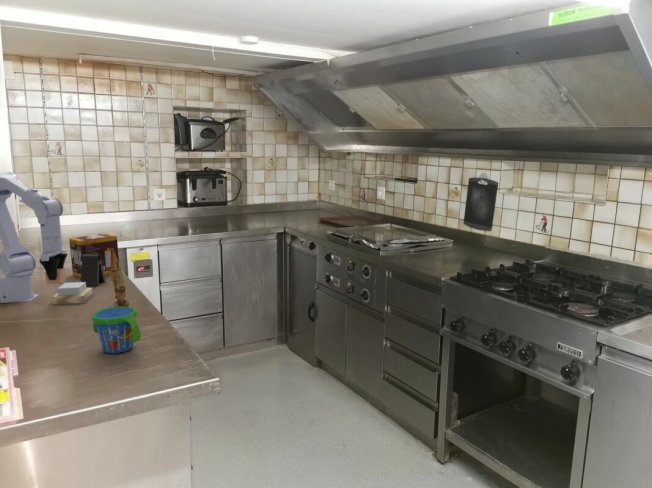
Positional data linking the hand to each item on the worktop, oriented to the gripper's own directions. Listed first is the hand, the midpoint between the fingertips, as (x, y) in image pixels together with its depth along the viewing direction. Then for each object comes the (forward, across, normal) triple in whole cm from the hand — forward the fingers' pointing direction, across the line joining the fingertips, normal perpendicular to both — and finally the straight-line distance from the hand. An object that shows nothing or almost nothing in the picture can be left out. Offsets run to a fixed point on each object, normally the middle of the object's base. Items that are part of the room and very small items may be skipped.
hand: (55, 277), depth 172 cm
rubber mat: (+10, +6, -2) cm, 12 cm away
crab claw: (+10, -2, -21) cm, 23 cm away
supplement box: (+10, +45, +1) cm, 46 cm away
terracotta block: (+2, 0, 0) cm, 2 cm away
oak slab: (+9, +6, -2) cm, 12 cm away
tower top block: (+7, +6, -2) cm, 10 cm away
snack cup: (+10, -40, -29) cm, 51 cm away
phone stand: (+10, +26, -3) cm, 28 cm away
